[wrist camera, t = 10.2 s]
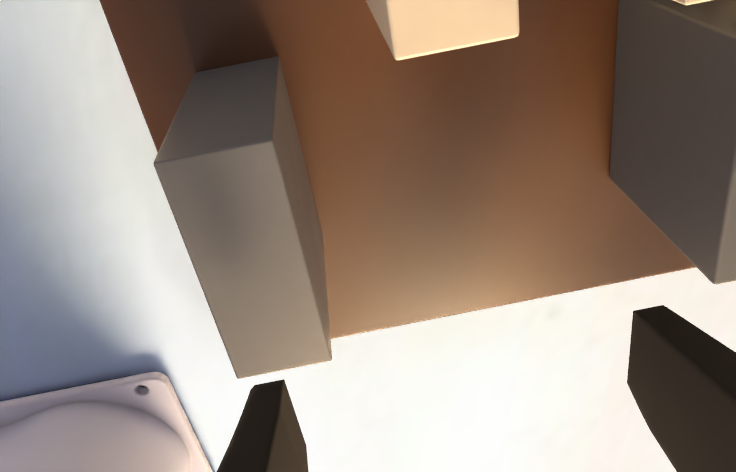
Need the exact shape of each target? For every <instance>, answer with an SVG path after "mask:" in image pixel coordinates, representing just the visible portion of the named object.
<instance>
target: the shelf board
mask: <svg viewBox="0 0 736 472" xmlns="http://www.w3.org/2000/svg"><path fill="white" fill-rule="evenodd" d="M100 3H101V5H102V8H103V11H104V13H105V16H106V18H107V21H108V24H109V26H110V29H111V32H112V34H113V37H114V39H115V42H116V45H117V47H118V50H119V52H120V55H121V58H122V60H123V63H124V66H125V68H126V71H127V73H128V76H129V79H130V81H131V84H132V86H133V89H134V92H135V94H136V97H137V100H138V102H139V105H140V107H141V110H142V113H143V115H144V118H145V120H146V123H147V126H148V128H149V131H150V134H151V136H152V139H153V141H154V144H155V147H156V149H157V152H159V150H160V148H161V145H162V143H163V141H164V139H165V137H166V135H167V132H168V130H169V128H170V126H171V124H172V122H173V119H174V117H175V115H176V113H177V111H178V109H179V106H180V104H181V102H182V100H183V98H184V95H185V93H186V91H187V89H188V87H189V85H190V82H191V80H192V78H193V76H194V74H195V73H196V72H200V71H205V70H210V69H215V68H220V67H225V66H231V65H236V64H241V63H246V62H251V61H256V60H261V59H266V58H271V57H276V56H278V57H279V58H280V62H281V66H282V70H283V75H284V79H285V83H286V87H287V91H288V95H289V99H290V103H291V107H292V111H293V116H294V120H295V124H296V128H297V132H298V136H299V140H300V144H301V148H302V152H303V157H304V161H305V165H306V169H307V173H308V177H309V181H310V185H311V189H312V193H313V198H314V202H315V206H316V210H317V214H318V218H319V222H320V226H321V230H322V234H323V248H324V261H325V274H326V288H327V301H328V314H329V328H330V339H333V338H338V337H343V336H348V335H353V334H358V333H364V332H369V331H374V330H379V329H384V328H389V327H394V326H399V325H404V324H409V323H415V322H420V321H425V320H430V319H435V318H440V317H445V316H450V315H455V314H460V313H466V312H471V311H476V310H481V309H486V308H491V307H496V306H501V305H506V304H511V303H516V302H522V301H527V300H532V299H537V298H542V297H547V296H552V295H557V294H562V293H567V292H573V291H578V290H583V289H588V288H593V287H598V286H603V285H608V284H613V283H618V282H624V281H629V280H634V279H639V278H644V277H649V276H654V275H659V274H664V273H669V272H674V271H680V270H685V269H690V268H695V267H696V266H695V265H694V264H693V263H692V262H691V261H690V260H689V259H688V258H687V257H686V256H685V255H684V254H683V253H682V252H681V251H680V250H679V249H678V248H677V247H676V246H675V244H674V243H673V242H672V241H671V240H670V239H669V238H668V237H667V236H666V235H665V234H664V233H663V232H662V231H661V230H660V229H659V228H658V227H657V226H656V225H655V224H654V223H653V222H652V221H651V220H650V219H649V218H648V217H647V216H646V215H645V214H644V213H643V212H642V211H641V210H640V209H639V208H638V207H637V206H636V205H635V204H634V203H633V202H632V201H631V200H630V199H629V198H628V197H627V196H626V195H625V194H624V193H623V192H622V190H621V189H620V188H619V187H618V186H617V185H616V184H615V183H614V182H613V181H612V180H611V179H610V161H611V141H612V122H613V102H614V82H615V62H616V43H617V23H618V3H619V0H518V5H519V35H518V36H517V37H515V38H510V39H505V40H500V41H495V42H490V43H485V44H479V45H474V46H469V47H464V48H459V49H454V50H449V51H444V52H439V53H434V54H429V55H424V56H418V57H413V58H408V59H403V60H395V58H394V57H393V54H392V52H391V50H390V48H389V46H388V44H387V42H386V40H385V38H384V36H383V34H382V32H381V30H380V28H379V26H378V24H377V22H376V20H375V18H374V16H373V14H372V12H371V10H370V8H369V6H368V4H367V2H366V0H100Z"/></svg>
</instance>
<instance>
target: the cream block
mask: <svg viewBox="0 0 736 472" xmlns="http://www.w3.org/2000/svg"><path fill="white" fill-rule="evenodd" d="M673 1H676V2H678V3H681V4H683V5H691V4H696V3H701V2H706V1H711V0H673Z"/></svg>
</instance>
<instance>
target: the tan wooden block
mask: <svg viewBox="0 0 736 472" xmlns="http://www.w3.org/2000/svg"><path fill="white" fill-rule="evenodd" d="M366 2H367V4H368V6H369V8H370V10H371V12H372V14H373V16H374V18H375V20H376V22H377V24H378V26H379V28H380V30H381V32H382V34H383V36H384V38H385V40H386V42H387V44H388V46H389V48H390V50H391V52H392V54H393V57H394V58H395V60H403V59H408V58H413V57H418V56H424V55H429V54H434V53H439V52H444V51H449V50H454V49H459V48H464V47H469V46H474V45H479V44H485V43H490V42H495V41H500V40H505V39H510V38H515V37H517V36H518V35H519V5H518V0H366Z"/></svg>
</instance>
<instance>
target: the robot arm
mask: <svg viewBox="0 0 736 472" xmlns="http://www.w3.org/2000/svg"><path fill="white" fill-rule="evenodd" d="M627 383H628V385H629V388H630V390H631V392H632V394H633V396H634V398H635V400H636V403H637V405H638V407H639V409H640V411H641V413H642V415H643V417H644V419H645V421H646V423H647V425H648V427H649V429H650V430H651V432H652V433H653V435H654V437H655V438H656V440H657V441H658V443H659V444H660V446H661V448H662V449H663V451H664V452H665V454H666V455H667V457H668V458H669V460H670V462H671V463H672V465H673V466H674V468H675V469H676V471H677V472H736V352H734V351H733V350H731V349H729V348H728V347H726V346H725V345H723V344H722V343H720V342H719V341H717V340H716V339H714V338H713V337H711V336H709V335H708V334H706V333H705V332H703V331H702V330H700V329H699V328H697V327H696V326H694V325H693V324H691V323H690V322H688V321H687V320H685V319H684V318H682V317H681V316H679V315H678V314H676V313H674V312H673V311H671V310H670V309H668V308H667V307H665V306H663V305H662V306H657V307H652V308H646V309H641V310H636V311H633V321H632V333H631V344H630V356H629V368H628V380H627ZM138 385H143V386H146V388H142V387H139V386H138ZM0 472H213V471H212V469H211V467H210V465H209V463H208V461H207V458H206V456H205V454H204V452H203V450H202V448H201V446H200V444H199V442H198V439H197V437H196V435H195V433H194V431H193V429H192V427H191V425H190V423H189V421H188V418H187V416H186V414H185V412H184V410H183V408H182V406H181V404H180V402H179V399H178V397H177V395H176V393H175V391H174V389H173V387H172V385H171V383H170V380H169V379H168V377H167V376H166V375H165V374H163V373H160V372H149V373H144V374H139V375H133V376H128V377H123V378H118V379H113V380H108V381H103V382H98V383H93V384H88V385H82V386H77V387H72V388H67V389H62V390H57V391H52V392H47V393H42V394H37V395H31V396H26V397H21V398H16V399H11V400H6V401H1V402H0ZM217 472H308V463H307V451H306V444H305V441H304V438H303V435H302V432H301V429H300V426H299V423H298V420H297V417H296V414H295V411H294V408H293V405H292V402H291V399H290V396H289V393H288V390H287V387H286V384H285V381H284V380H279V381H274V382H269V383H264V384H259V385H254V387H253V388H252V389H251V391H250V393H249V396H248V399H247V402H246V405H245V407H244V410H243V413H242V415H241V418H240V420H239V423H238V425H237V428H236V430H235V432H234V435H233V437H232V439H231V442H230V444H229V447H228V449H227V451H226V453H225V455H224V457H223V460H222V462H221V464H220V466H219V468H218V470H217Z"/></svg>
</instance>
